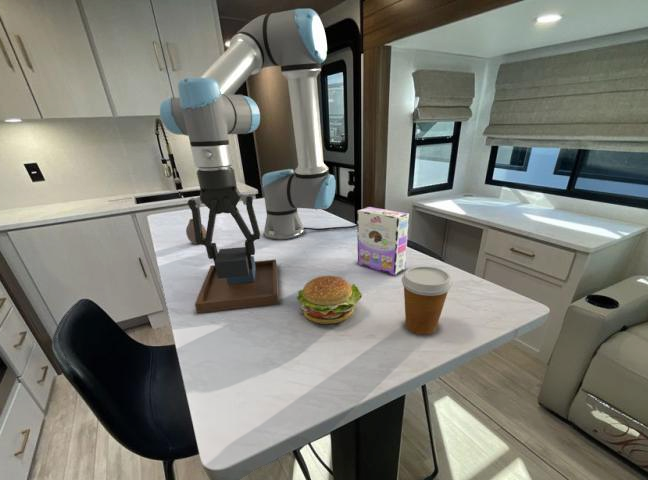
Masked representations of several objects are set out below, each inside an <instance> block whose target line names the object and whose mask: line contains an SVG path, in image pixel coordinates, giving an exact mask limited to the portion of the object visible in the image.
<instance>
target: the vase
mask: <svg viewBox="0 0 648 480" xmlns="http://www.w3.org/2000/svg"><path fill="white" fill-rule="evenodd" d="M206 231H207V228H206V227H205V226H204V225H203V224H202V232H203V238H206ZM185 233H186V234H185V235H186V237H187V239H188V241H189V242H190V243H191V244H193V245H197V244H196V241H195V233H194V225H193V218H190V219H189V221H188V224H187V225H186V227H185Z"/></svg>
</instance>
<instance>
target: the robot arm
mask: <svg viewBox="0 0 648 480" xmlns="http://www.w3.org/2000/svg"><path fill="white" fill-rule="evenodd" d="M325 31H326V30H325V28H324V25H323V22H322V20H321V18H320V16H319V14H318V13H317V12H316V11H315V10H314V9H312V8H295V9H290V10H284V11H278V12H272V13H264V14H262V15H259V16H257V17H255V18H253V19H252V20H251V21H250V22H248V23H247V24H245V25H244V26H243V27H242V28H240V30H238V31H237V32H236V33H235V34H234V35H233V36H232V38H231V39H230V42H229V47H228V48H227V49H226V50H225V51H224V52H223V53H222V54H221V55H220V56H219V57H218V58H217V59H216V60H215V61H214V62H213V63H212V64H211V65H210V66H209V67H208V68H207V69H206V70H205V71H204V73H202V74H201V75H200V76H199V77H185V78H181V79H179V81H178V82H177V90H178V95H179V96H178V97H174V96H172V97H170V98H167V99H164V100H163V101H162V102H161V104H160V107H159V114H160V120H161V122H162V123H163V125H164V126H165V128H166V129H167V131H169V132H170V133H171V134H174V135H177V136H178V135H179V136H186V137H188V141H189V145H190V149H191V154H192V159H193V163H194V167H195V168H197V169H198V170H196V176H197V181H198V185H199V190H200V193H199V196H197V197H191V198H189V199H188V200H187V205H188V207H189V209H190V211H191V217H192V219H193V225H194V233H195V241H196V244H195V245H202V246H204V247H205V250H206V253H207V258H208V259H209V260H213V262H215V260H216V257H217V255H218V252H219V250H218V247H217V243H216V242H213V237H214V232H215V231H214V230H215V224H216V219H217V215H220V214H230V215H231V217H232V218H233V219H234V221H235V223H236V225H237V226H238V228H239V230H240V232H241V233H242V235H243V237H244V238H245V239H246V240H245V241H244V247H245V248H246V254H247V259H248V264H249V270H250V269H253V262H252V256H255V254H256V247H255V241H258V240H260V239H261V232H260V228H259V224H258V220H257V217H256V212H255V209H254V206H253V201H254V196H253V194H250V193H249V194H244V193H241V192H240V190H239V189H238V186H237V181H236V179H237V178H236V173H235V169H234V168H233V167H231V166H233V165H234V163H233V157H232V150H231V145H230V139H229V135H247V134H249V133H254V132H255V131H256V130H257V129H258V127H259V126H260V123H261V113H260V108H259V106H258V105H257V103H256V101H255V100H254V99H252V98H251V97H249V96H246V95H243V94H240V93H239V94H235V93H236V92H237V91H238V90H239V88H241V87H242V85H243V84H244V83H245V82H246V81H247V79H248V78H249V77H250V76H252V75H256V74H258V73H259V72H260V71H261V70H262V69H265V68H270V67H280V71H281V74H282V76H284V77H285V78H286V80H287V85H288V93H289V100H290V102H289V103H290V110H291V118H292V124H293V133H294V141H295V149H296V158H297V164H298V165H297V167H296V168H295V169H293V168H288V169H281V170H275V171H271V172H267V173H264V174H263V175H262V177H261V180H262V189H263V190H262V192H263V197H264V204H265V205H264V206H265V212H266V218H265V224H264V230H263V231H264V236H265V238H267V239H271V240H280V241H281V240H290V239H295V238H298V237H300V236H302V235H303V234H304V233H305V230H307V231H308V230H309V231H327V230H339V229H354V228H356V227H357V224H354V225H349V226H347V225H346V226H332V227H331V226H330V227H321V228H320V227H319V228H315V227H304V226H303V223H302V220H301V218H300V216H299V213H298V209H309V210H315V211H316V210H317V211H318V210H327V209H328V208H330V207H331V205H332V203H333V201H334V198H335V194H336V188H337V185H336V177H335V175H333V174H330V172H329V171H330V169H329V167H328V166H327V165H326V164H325V163H324V152H323V151H324V150H323V138H322V127H321V116H320V115H321V114H320V104H319V101H320V100H319V90H318V79H317V78H318V75H319V74H320V73H321V71H322V63H323V62H325V60H326V59H327V55H328V54H327V52H328V44H327V43H328V42H327V36H326V32H325ZM240 201H242V204H243V205H244V206H245V207H246V212H247V216H248V218H249V223H250V225H251V230H252V232H251V231H250V229H249V227H248V225H247V224H246V222H245V220H244V218H243V217H242V215H241V213H240V210H239V209H238V207H237V205H238V204H239V202H240ZM202 203H203V205H204V206H205V207H207V208H208V209H209V210H208V211H209V212H208V220H207V225H206V238H203V232H202V225H203V223H202V216H201V207H202ZM215 269H216V268H215Z"/></svg>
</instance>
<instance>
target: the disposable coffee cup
mask: <svg viewBox="0 0 648 480" xmlns="http://www.w3.org/2000/svg"><path fill="white" fill-rule="evenodd" d="M401 283H402V286H403V295H404V296H403V297H404V298H403V299H404V315H405V316H404V318H405V327H406V329H407V330H408V331H409V332H411V333H413V334H416V335H421V336H428V335H431V334H433V333H435V332H436V330H437V328H438V324H439V322H440V317H441V315H442V312H443V308H444V306H445V302H446V299H447V295H448V292H449V291H450V289H451V288H452V287H453V282H452V278H451V275H450V274H449V272H448V271H446V270H445V269H441V268H439V267H434V266H428V265H427V266H426V265H422V266H421V265H418V266H413V267H410V268H408V269H406V270H405V272H404V274H403V276H402V277H401Z"/></svg>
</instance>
